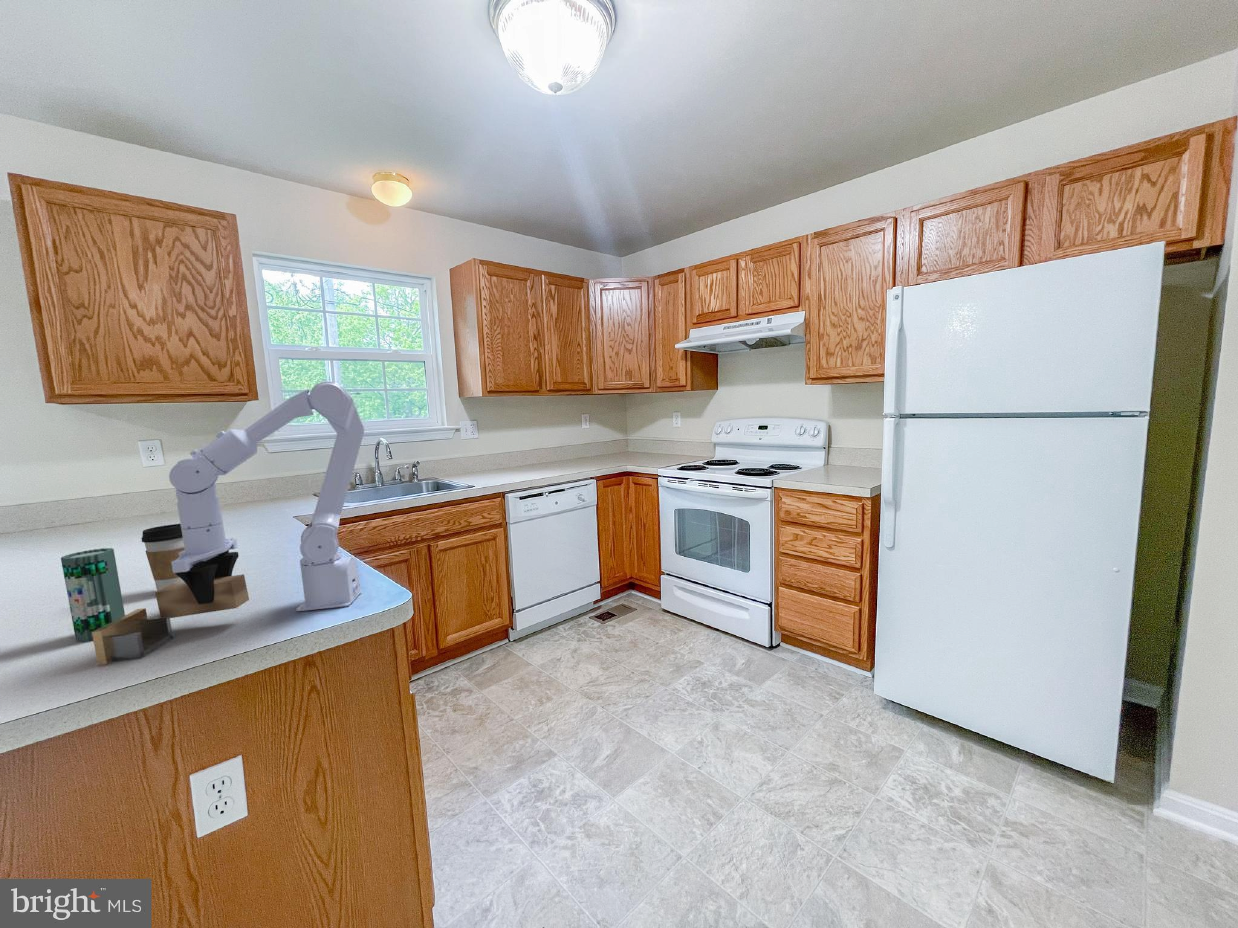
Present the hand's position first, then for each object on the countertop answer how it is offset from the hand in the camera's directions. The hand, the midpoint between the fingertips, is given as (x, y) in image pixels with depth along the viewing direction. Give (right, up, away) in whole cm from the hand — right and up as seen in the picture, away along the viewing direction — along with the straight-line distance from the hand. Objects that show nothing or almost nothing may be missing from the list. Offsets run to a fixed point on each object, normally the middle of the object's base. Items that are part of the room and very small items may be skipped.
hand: (214, 597), depth 89 cm
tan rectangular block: (-1, -2, 0) cm, 2 cm away
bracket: (-6, -7, -8) cm, 12 cm away
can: (-20, -7, 0) cm, 21 cm away
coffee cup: (-26, -4, +21) cm, 33 cm away
